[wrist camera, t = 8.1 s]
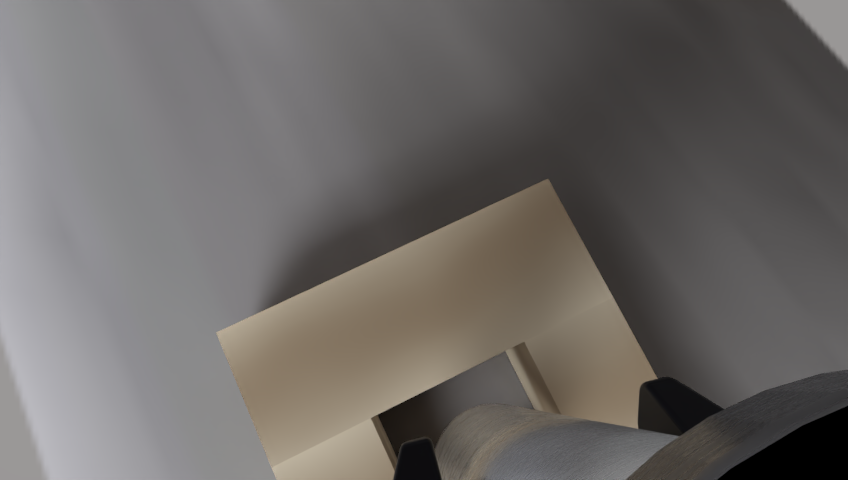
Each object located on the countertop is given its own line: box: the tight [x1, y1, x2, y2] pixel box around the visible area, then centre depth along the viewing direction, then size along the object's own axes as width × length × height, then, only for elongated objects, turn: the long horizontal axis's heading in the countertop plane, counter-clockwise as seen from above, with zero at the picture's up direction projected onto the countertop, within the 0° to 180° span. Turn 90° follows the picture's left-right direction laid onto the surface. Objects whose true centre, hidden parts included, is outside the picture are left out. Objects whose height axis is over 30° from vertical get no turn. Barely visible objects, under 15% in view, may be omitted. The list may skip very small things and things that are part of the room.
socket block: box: [216, 179, 658, 480], centre depth 18 cm, size 12×10×4 cm
